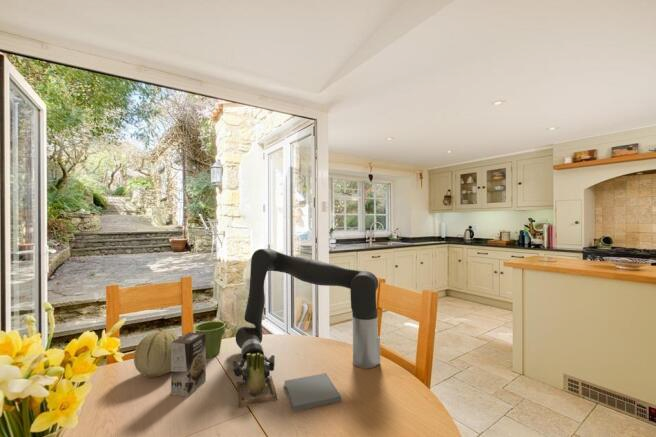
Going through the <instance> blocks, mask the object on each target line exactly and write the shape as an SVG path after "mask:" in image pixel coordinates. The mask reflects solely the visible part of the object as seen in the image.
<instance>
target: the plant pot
mask: <svg viewBox="0 0 656 437" xmlns="http://www.w3.org/2000/svg"><path fill="white" fill-rule="evenodd" d="M225 327H226V322H224V321H219V320H217V321H216V320H215V321H205V322H201V323H199V324H196V325H195V326H194V327H193V330H194V331H195V333H206V358H212V357H216V356H217V355H218V354H220V352H221V346H222V340H223V333H224V329H225Z"/></svg>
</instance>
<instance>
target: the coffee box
mask: <svg viewBox="0 0 656 437" xmlns="http://www.w3.org/2000/svg"><path fill="white" fill-rule="evenodd" d="M206 359H207V357H206V333H196V332H187V333H186V334H184V335H182V336H180V337H179V338H178V339H176V340H175V341H173V342H171V371H170V394H171V395H172V396H173V395H175V396H181V397H190V396H191V395H192V394H193V393H194V392H195V391H196V390H197V389H199V388H200V387H201V386H202V385H203V384H204V383H206V382H207V380H206V378H207V377H206V376H207V374H206V372H207V371H206V370H207V369H206V368H207V367H206V366H207V364H206V363H207V361H206Z"/></svg>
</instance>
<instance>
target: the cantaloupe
mask: <svg viewBox="0 0 656 437" xmlns="http://www.w3.org/2000/svg"><path fill="white" fill-rule="evenodd" d="M157 330H158V331H155V332H152V333H149V334H147V335H145V337H143V338H142V339H141V340H140V342H139V343H138V344H137V346H136V348H135V350H134V354H133V364H134V367H135V369H136V370H137V372H139V373H140V374H141V375H143V376H145V377H149V378H156V377H160V376H164V375H167V374H168V373H171V342H173V341H175V340H176V339H178V338H180V337H179V336H178V335H177V334H175V333H174V332H171V331H165V330H163V329H162V328H158V329H157Z"/></svg>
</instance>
